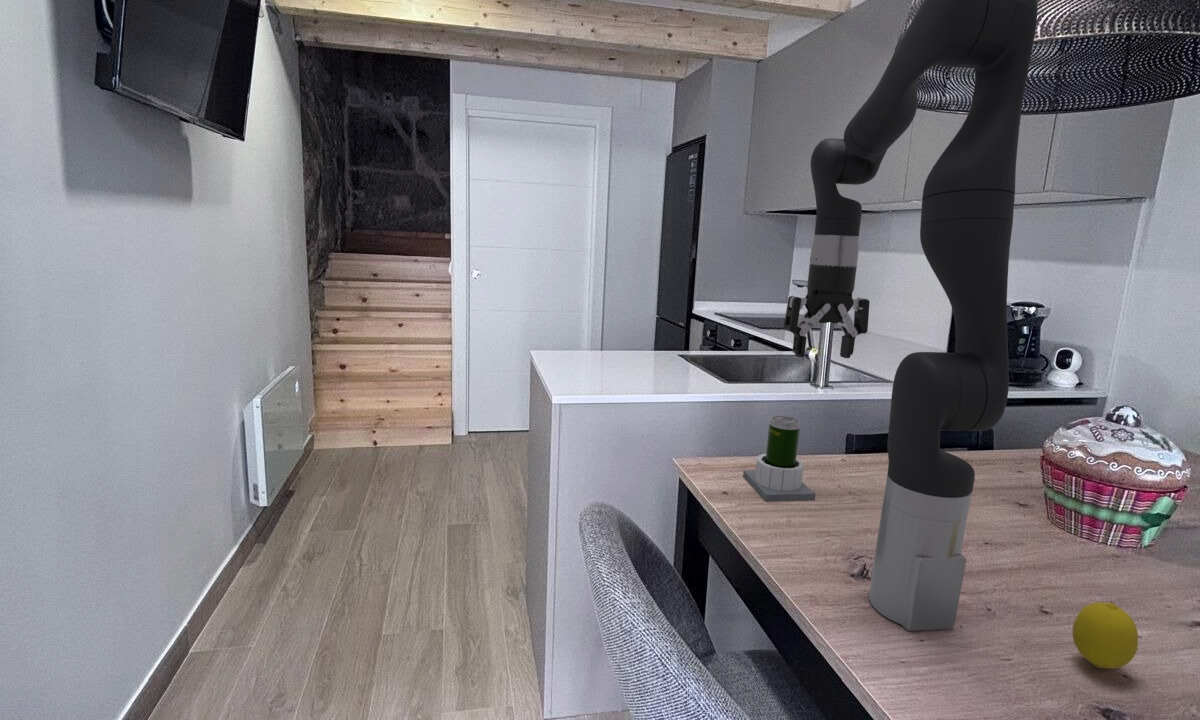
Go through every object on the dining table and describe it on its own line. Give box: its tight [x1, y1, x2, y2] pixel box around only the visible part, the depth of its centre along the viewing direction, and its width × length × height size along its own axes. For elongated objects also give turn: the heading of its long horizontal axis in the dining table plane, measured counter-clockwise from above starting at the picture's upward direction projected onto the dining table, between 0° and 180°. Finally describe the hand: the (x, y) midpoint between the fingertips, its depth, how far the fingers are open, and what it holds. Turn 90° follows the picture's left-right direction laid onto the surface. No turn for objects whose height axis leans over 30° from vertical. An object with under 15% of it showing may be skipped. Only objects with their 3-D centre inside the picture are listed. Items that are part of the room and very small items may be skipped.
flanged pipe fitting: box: [742, 452, 816, 502], centre depth 113 cm, size 11×9×5 cm
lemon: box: [1072, 601, 1139, 669], centre depth 68 cm, size 6×6×8 cm
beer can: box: [765, 415, 801, 468], centre depth 112 cm, size 5×5×12 cm
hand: (822, 357), depth 107 cm, fingers open, 8 cm apart
